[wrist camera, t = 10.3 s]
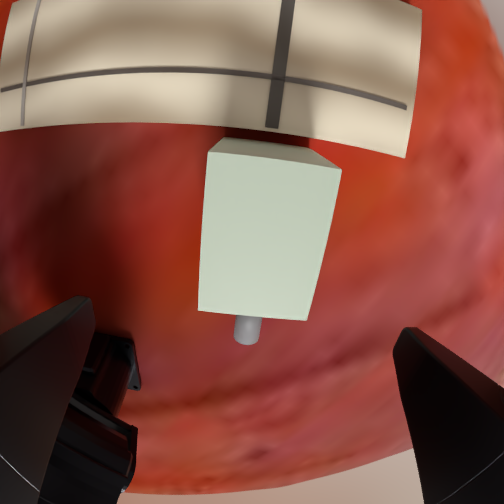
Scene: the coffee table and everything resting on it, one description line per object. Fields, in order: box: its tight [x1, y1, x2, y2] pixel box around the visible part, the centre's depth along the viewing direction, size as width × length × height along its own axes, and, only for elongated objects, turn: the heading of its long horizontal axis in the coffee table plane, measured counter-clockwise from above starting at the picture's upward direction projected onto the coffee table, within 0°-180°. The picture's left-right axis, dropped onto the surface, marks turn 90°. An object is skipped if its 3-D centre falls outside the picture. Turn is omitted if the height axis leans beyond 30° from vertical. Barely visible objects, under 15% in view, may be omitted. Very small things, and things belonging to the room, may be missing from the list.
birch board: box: [0, 0, 422, 158], centre depth 14 cm, size 10×27×2 cm, turn 83°
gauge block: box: [198, 137, 342, 345], centre depth 16 cm, size 10×5×7 cm, turn 173°
